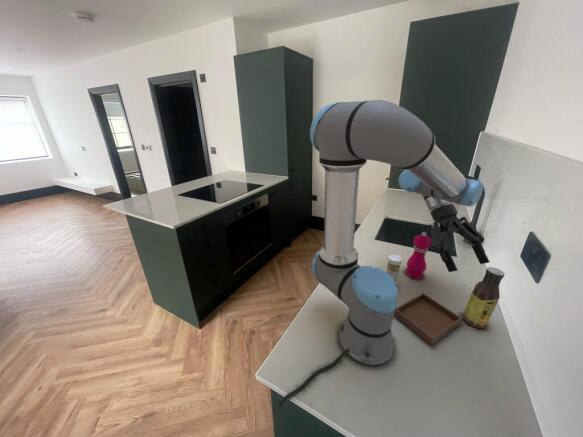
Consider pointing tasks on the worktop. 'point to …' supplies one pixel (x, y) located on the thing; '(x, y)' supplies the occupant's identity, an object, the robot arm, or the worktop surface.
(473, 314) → the sauce bottle
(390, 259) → the sprinkles bottle
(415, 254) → the pepper mill
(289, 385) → the worktop surface
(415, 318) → the serving tray
